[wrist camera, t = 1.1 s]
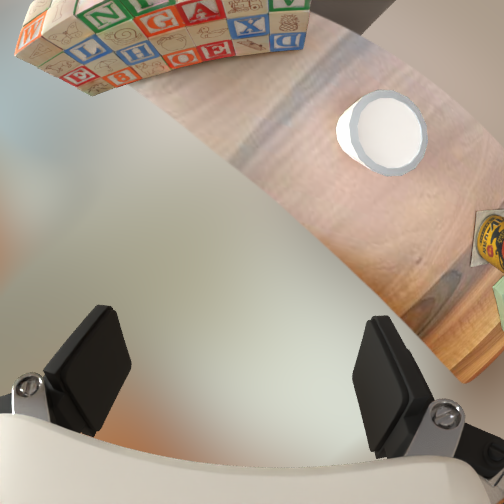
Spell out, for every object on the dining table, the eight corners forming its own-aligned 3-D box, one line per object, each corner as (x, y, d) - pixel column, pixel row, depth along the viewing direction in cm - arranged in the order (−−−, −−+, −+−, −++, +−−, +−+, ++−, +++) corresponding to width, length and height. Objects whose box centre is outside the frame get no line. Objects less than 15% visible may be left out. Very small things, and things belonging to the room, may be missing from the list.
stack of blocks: (291, 6, 21) (297, -83, 8) (304, 51, 21) (320, -42, 9) (94, 52, 22) (28, 2, 10) (90, 98, 23) (10, 56, 11)
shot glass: (358, 181, 27) (384, 194, 20) (314, 126, 25) (330, 121, 19) (406, 141, 25) (442, 145, 18) (366, 86, 23) (394, 73, 17)
